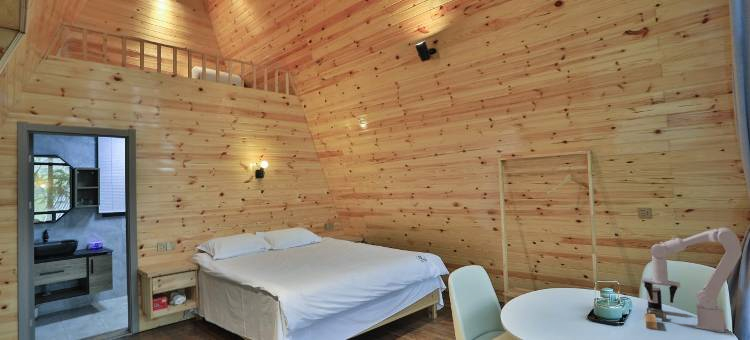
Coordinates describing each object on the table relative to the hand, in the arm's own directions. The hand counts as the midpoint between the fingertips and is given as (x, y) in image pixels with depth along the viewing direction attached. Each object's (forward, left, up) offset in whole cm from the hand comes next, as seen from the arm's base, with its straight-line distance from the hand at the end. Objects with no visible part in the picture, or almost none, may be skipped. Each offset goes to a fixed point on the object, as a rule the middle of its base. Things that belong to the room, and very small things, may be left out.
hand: (661, 300), depth 190 cm
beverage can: (+6, -15, -10) cm, 19 cm away
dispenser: (+3, -3, -9) cm, 10 cm away
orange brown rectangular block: (+3, +8, -10) cm, 13 cm away
